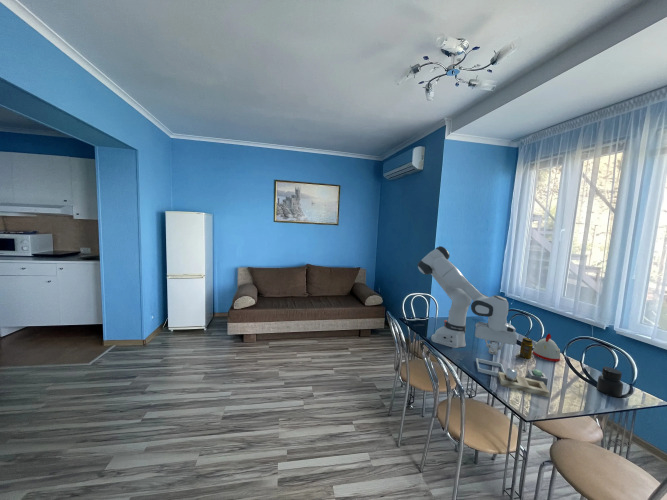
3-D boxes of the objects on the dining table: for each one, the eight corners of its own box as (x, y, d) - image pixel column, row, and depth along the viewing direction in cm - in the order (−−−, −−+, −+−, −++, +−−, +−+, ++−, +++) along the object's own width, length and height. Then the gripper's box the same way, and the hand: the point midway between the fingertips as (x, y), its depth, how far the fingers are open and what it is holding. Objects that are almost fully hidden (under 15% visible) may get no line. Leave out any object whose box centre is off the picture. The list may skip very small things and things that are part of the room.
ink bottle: (627, 397, 133) (631, 374, 132) (613, 399, 131) (617, 376, 130) (603, 386, 143) (607, 364, 142) (591, 387, 141) (594, 365, 140)
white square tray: (477, 372, 149) (478, 368, 149) (475, 361, 161) (476, 358, 161) (505, 379, 144) (506, 374, 144) (501, 367, 156) (501, 363, 156)
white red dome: (529, 354, 176) (532, 332, 175) (536, 349, 184) (539, 328, 183) (556, 363, 165) (559, 340, 164) (562, 357, 174) (565, 335, 172)
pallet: (500, 386, 137) (501, 381, 137) (497, 376, 146) (498, 371, 146) (548, 398, 129) (549, 392, 129) (542, 387, 138) (543, 381, 138)
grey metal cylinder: (489, 353, 151) (490, 341, 150) (487, 350, 155) (489, 338, 154) (498, 355, 149) (499, 343, 148) (496, 352, 153) (498, 340, 153)
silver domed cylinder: (506, 384, 138) (508, 371, 138) (504, 379, 142) (506, 367, 142) (516, 386, 136) (518, 373, 136) (514, 382, 141) (516, 369, 140)
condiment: (533, 358, 170) (536, 340, 169) (528, 361, 166) (530, 342, 165) (520, 353, 176) (523, 335, 175) (515, 356, 172) (517, 338, 171)
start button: (533, 377, 143) (534, 371, 143) (531, 373, 146) (532, 368, 146) (542, 379, 141) (543, 373, 141) (540, 375, 145) (541, 370, 145)
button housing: (530, 382, 142) (531, 375, 142) (527, 375, 149) (527, 369, 148) (546, 386, 139) (547, 378, 139) (542, 379, 146) (543, 372, 145)
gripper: (476, 322, 151) (473, 346, 153) (519, 330, 144) (515, 354, 145) (475, 319, 157) (472, 341, 158) (516, 326, 150) (512, 350, 151)
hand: (493, 348), depth 152 cm, fingers closed on grey metal cylinder, 4 cm apart
